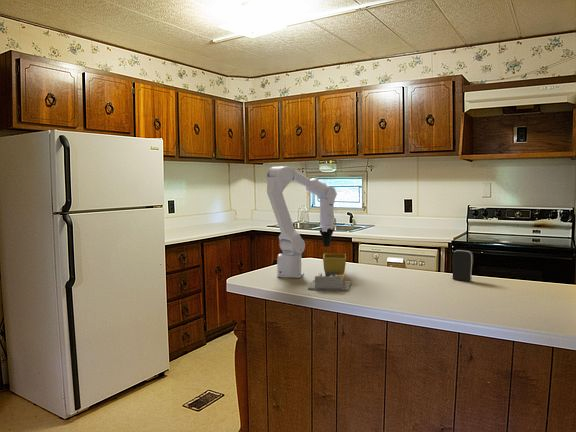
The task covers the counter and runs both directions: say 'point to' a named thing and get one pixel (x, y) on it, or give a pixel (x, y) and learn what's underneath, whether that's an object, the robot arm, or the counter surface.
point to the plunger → (333, 274)
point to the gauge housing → (329, 283)
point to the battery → (462, 265)
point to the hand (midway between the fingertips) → (326, 246)
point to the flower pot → (334, 262)
